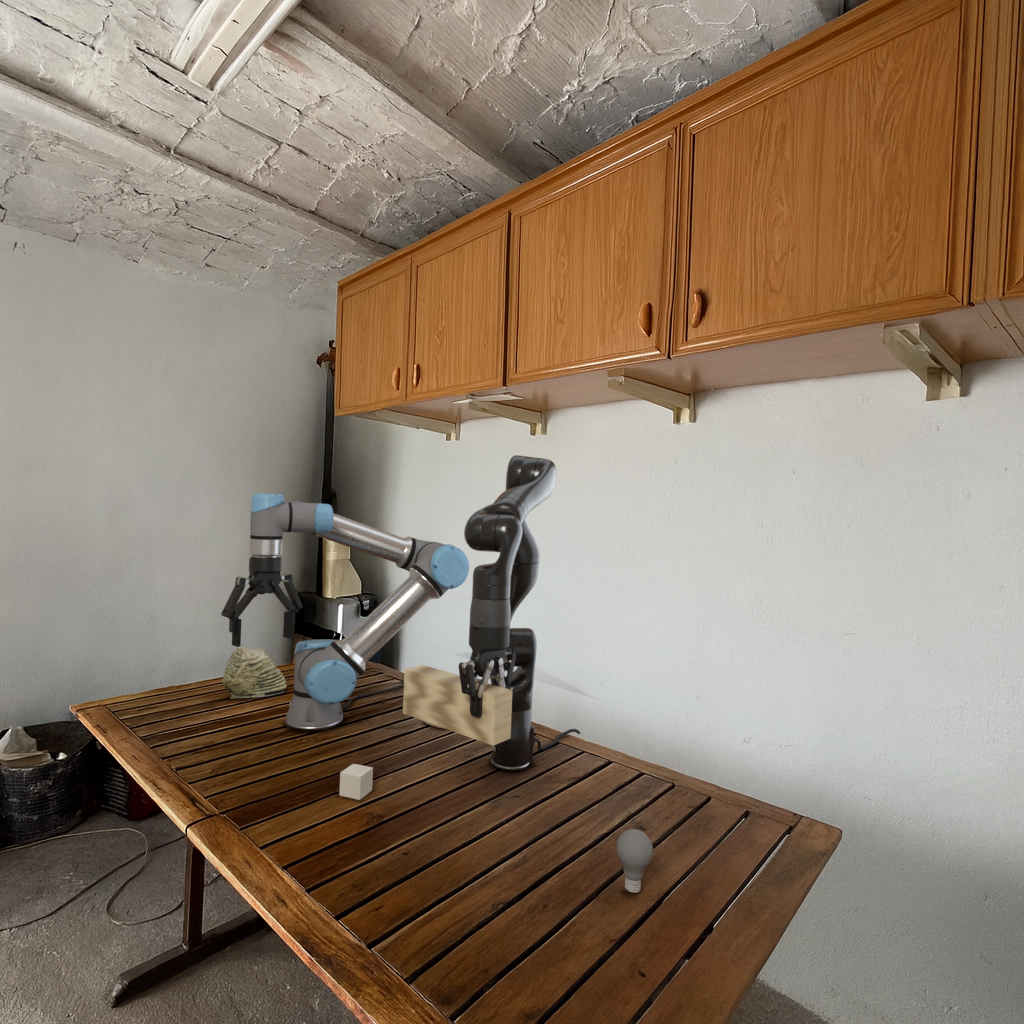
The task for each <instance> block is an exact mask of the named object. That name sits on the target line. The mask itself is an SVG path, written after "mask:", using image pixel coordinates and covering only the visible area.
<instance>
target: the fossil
mask: <svg viewBox="0 0 1024 1024" xmlns="http://www.w3.org/2000/svg"><path fill="white" fill-rule="evenodd" d="M222 676H223V677H222V685H223V687H224V688H225V690H226V691H228V693H229V698H230V699H250V698H264V697H271V696H275V695H281V694H284V693H285V691H286V689H287V687H288V686H287V680H286V678H285V676H284V674H283V673H282V672H281V669H279V668H278V667H277V665H276V663H275V662H274V660H273V659H272V658H271V657H270V656H269V655H268V654H267V653H266V652H265V650H264V649H263V648H260V647H258V648H251V647H247V646H246V647H245V646H241V647H236V649H235V650H233V651H232V653H231V656H230V657H229V659H228V660H227V663H226V666H225V668H224V671H223V675H222Z"/></svg>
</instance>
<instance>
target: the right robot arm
mask: <svg viewBox="0 0 1024 1024" xmlns="http://www.w3.org/2000/svg"><path fill="white" fill-rule="evenodd" d="M505 474H506V476H505V490H504V491H503V492H501V494H499V495H498V497H496V499H495V500H494V502H493V503H491V504H488V505H486V506H484V507H482V508H480V509H478V510H476V511H474V513H472V514H471V516H470V517H469V518H468V520H467V521H466V524H465V526H464V530H463V536H464V540H465V543H466V544H467V546H468V547H469V548H470V549H472V550H474V551H476V552H486V553H487V552H488V553H490V552H491V553H499V556H498V558H497V560H496V561H495V562H491V563H484V564H479V565H477V566H476V567H474V569H473V571H472V591H471V602H470V609H469V628H468V629H469V631H468V645H469V647H470V649H471V655H470V658H469V660H468V661H466V662H459V664H458V673H459V674H458V675H460V682H461V689H462V693H464V694H467V695H470V713H471V715H472V716H474V717H477V718H479V717H481V716H482V702H483V697H482V694H483V691H484V687H485V685H487V684H489V681H490V684H492V685H496V686H499V687H503V688H506V689H510V690H512V714H511V738H510V739H508V740H506V741H503V742H501V743H499V744H496V745H494V746H492V745H490V748H491V761H490V763H491V765H492V767H494V768H496V769H498V770H501V771H505V772H519V771H524V770H526V769H528V768H529V767H531V766H533V764H534V747H535V743H537V750H539V751H544V750H547V749H549V748H551V747H552V746H554V745H556V744H557V742H558V741H559V740H560V739H561V738H563V737H565V736H566V735H568V734H570V733H576V734H577V735H581V731H579V729H577V728H571V729H568V730H565V731H564V732H561V733H560V734H558V735H556V737H555V738H554V740H552V741H550V742H549V743H548V744H546V745H544V746H542V741H541V740H540V739H538V738H537V737H535V726H534V725H533V724H532V710H533V694H534V693H533V691H534V684H535V671H536V661H537V647H538V646H537V645H538V644H537V642H538V641H537V637H536V633H535V631H534V630H533V629H532V628H530V627H511V622H512V620H513V617H514V615H515V613H516V611H517V610H518V607H519V606H520V605H521V604H522V603H523V601H524V600H525V599H526V598H527V596H529V594H530V592H531V591H532V590H533V588H534V587H535V585H536V583H537V581H538V577H539V568H540V567H539V566H540V559H541V552H540V549H539V545H538V543H537V541H536V539H535V537H534V535H533V533H532V531H531V529H530V527H529V525H528V523H527V520H526V518H527V517H528V516H529V514H530V513H531V512H532V511H533V510H535V509H536V508H537V507H539V506H540V505H542V503H544V502H545V501H546V500H548V499H549V498H550V496H551V495H552V494H553V492H554V489H555V487H556V482H557V467H556V464H555V462H554V461H553V460H550V459H547V458H545V457H544V458H542V457H534V456H527V455H517V454H516V455H513V456H511V458H509V461H508V464H507V468H506V473H505ZM515 668H516V669H515ZM478 677H479V678H478ZM477 683H479V686H478V690H476V685H477ZM468 685H469V687H468Z"/></svg>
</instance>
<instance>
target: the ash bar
mask: <svg viewBox="0 0 1024 1024" xmlns="http://www.w3.org/2000/svg"><path fill="white" fill-rule="evenodd" d="M403 675H404V677H403V680H404V681H403V684H404V687H403V701H402V714H404V715H406V716H409V717H412V718H415V719H417V720H420V721H423V722H424V723H425V722H428V723H431V724H434V725H437V726H439V727H442V728H441V729H444V730H448V731H451V732H454V733H456V734H459V735H462V736H464V737H467V738H470V739H473V740H476V741H479V742H481V743H484V744H487V745H489V746H491V745H492V746H494V745H496V744H499V743H501V742H503V741H506V740H508V739H510V738H511V714H512V690H510V689H506V688H503V687H499V686H496V685H492V684H491V683H488V684H487V685H485V687H484V691H483V694H482V697H483V702H482V716H481V717H479V718H477V717H474V716H472V715H471V713H470V695H467V694H464V693H462V689H461V682H460V674H456V673H452V672H449V671H445V670H441V669H438V668H435V667H431V666H428V665H424V664H421V665H417V666H412V667H408V668H405V669H404V673H403ZM478 686H479V683H477V685H476V690H478ZM468 687H469V685H468Z"/></svg>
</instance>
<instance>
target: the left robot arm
mask: <svg viewBox="0 0 1024 1024" xmlns="http://www.w3.org/2000/svg"><path fill="white" fill-rule="evenodd" d="M250 505H251V507H250V512H249V513H250V522H249V523H250V525H249V528H250V529H249V530H250V531H249V555H251V556H250V557H249V558H248V572H249V575H248V577H242V576H236V577H235V583H234V587H233V589H232V591H231V593H230V594H229V597H228V599H227V601H226V603H225V605H224V607H223V609H222V611H221V613H220V615H221V617H225V618H227V619H228V621H229V623H228V631H229V633H231V646H233V647H236V648H238V647H242V646H241V645H242V643H241V641H242V618H240V617H241V615H242V614H243V613H244V611H245V610H246V608H248V606H249V605H250V604H251V602H252V601H253V600H254V598H256V597H257V596H258V595H266V594H271V595H272V594H273V595H274V596H275V597H276V598H277V600H278V601H279V602H280V603H281V604H282V606H283V607H284V608H285V609H286V611H283V632H282V637H283V638H286V639H293V625H295V622H296V613H298V612H299V610H302V609H303V607H304V606H303V604H302V601H301V598H300V596H299V594H298V591H297V590H296V587H295V584H294V579H293V575H292V574H290V573H286V572H285V573H283V574H282V573H281V572H282V568H283V567H282V566H283V564H282V563H283V558H282V557H281V555H283V537H284V536H283V534H284V533H303V534H305V533H307V534H309V535H313V536H315V537H319V538H322V539H325V540H327V541H331V542H333V543H336V544H340V545H341V546H344V547H348V548H351V549H354V550H357V551H360V552H362V553H366V554H368V555H372V556H375V557H377V558H380V559H382V560H383V559H384V560H386V561H390V562H392V563H394V564H395V566H396V567H397V568H399V569H402V570H405V571H407V572H409V573H408V574H409V575H408V577H407V578H406V579H405V580H404V581H403V582H402V583H401V584H400V585H399V586H398V587H397V588H396V589H395V590H394V591H392V593H391V594H390V595H388V596H387V597H386V598H385V599H384V600H383V601H382V602H381V603H380V604H379V605H378V606H377V607H376V608H374V609H373V610H372V611H371V613H370V614H368V615H367V616H366V617H365V618H364V619H363V620H362V621H361V622H360V623H359V624H358V625H357V626H356V627H354V629H353V630H352V631H351V632H350V633H348V634H347V635H346V636H345V638H343V639H328V638H327V639H307V640H302V641H299V642H297V643H296V644H295V648H294V649H295V650H294V672H293V673H294V674H293V675H294V676H293V678H294V679H293V695H292V696H293V697H292V699H291V701H289V708H288V711H287V713H286V715H285V726H286V728H287V729H289V730H291V731H294V732H295V731H296V732H301V733H316V732H325V731H329V730H332V729H335V728H337V727H339V726H340V725H342V723H343V722H344V714H343V710H344V709H347V708H349V707H350V706H351V705H350V704H351V703H352V702H353V701H354V700H356V699H360V698H364V697H370V696H374V695H378V694H383V693H388V692H391V691H395V690H398V689H401V688H404V683H402V684H400V685H396V686H393V687H390V688H385V689H381V690H376V691H371V692H366V693H361V694H358V695H354V696H353V697H350V696H351V695H352V693H353V692H354V690H355V688H356V685H357V681H358V679H360V678H361V676H362V675H363V674H364V673H366V666H367V665H366V664H367V662H368V661H369V660H370V659H371V658H372V657H373V656H374V655H376V654H377V652H379V650H381V649H382V648H383V647H384V646H385V644H387V643H388V641H390V640H391V639H392V638H393V637H394V636H395V635H396V633H398V632H399V631H400V630H401V629H402V628H403V627H404V626H405V625H406V624H407V623H408V622H409V621H410V620H411V619H412V618H413V617H414V616H415V615H416V614H418V612H419V611H421V609H422V608H423V607H424V606H425V605H426V604H427V603H428V602H429V601H431V600H439V599H440V598H442V596H444V594H446V592H447V591H448V590H453V589H457V588H458V587H461V586H462V585H463V584H464V583H465V582H466V580H467V578H468V577H469V572H470V562H469V558H468V556H467V554H466V553H465V552H464V551H463V550H462V549H461V548H459V547H457V546H455V545H453V544H449V543H446V544H445V543H442V542H437V541H430V540H423V539H418V538H414V537H412V536H405V537H403V536H402V537H401V536H399V535H396V534H394V533H390V532H388V531H385V530H382V529H380V528H377V527H373V526H371V525H368V524H366V523H363V522H359V521H357V520H354V519H351V518H348V517H345V516H342V515H340V514H338V513H334V509H333V507H332V505H331V504H329V503H321V502H305V501H299V500H297V501H294V502H289V501H285V496H284V495H283V494H280V493H260V492H259V493H258V492H257V493H255V494H254V495H252V497H251V504H250ZM281 582H282V583H283V586H284V589H285V591H286V593H287V594H285V592H284V590H283V589H282V588H281V585H280V584H281ZM247 586H249V587H248V588H246V587H247ZM245 588H246V590H245ZM244 591H245V593H244ZM243 593H244V595H243ZM242 595H243V596H242ZM287 595H288V596H287ZM348 698H349V699H348ZM347 699H348V701H347V703H346V704H345V705H341V703H342V702H344V701H346V700H347Z"/></svg>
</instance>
